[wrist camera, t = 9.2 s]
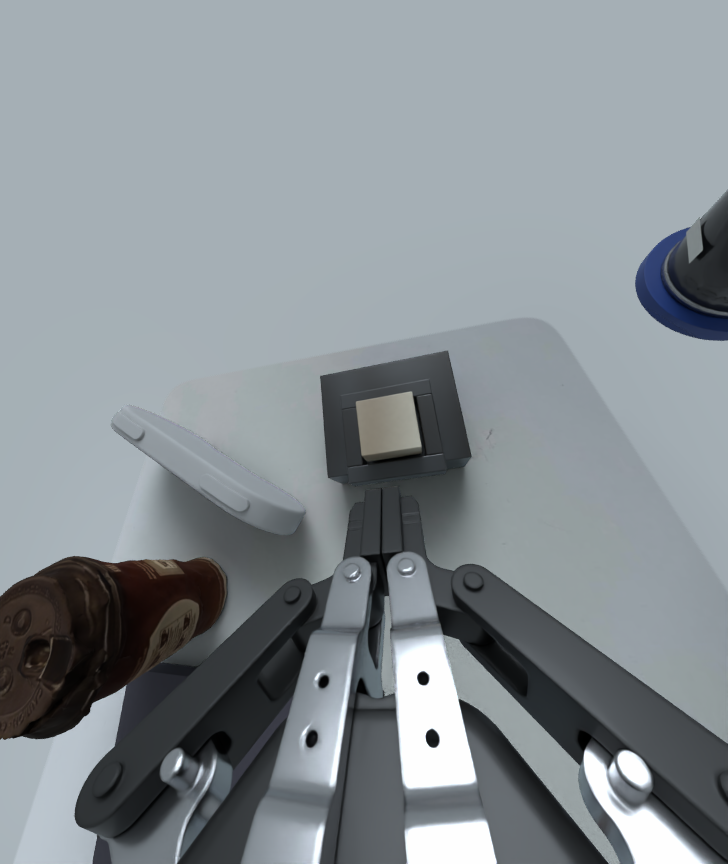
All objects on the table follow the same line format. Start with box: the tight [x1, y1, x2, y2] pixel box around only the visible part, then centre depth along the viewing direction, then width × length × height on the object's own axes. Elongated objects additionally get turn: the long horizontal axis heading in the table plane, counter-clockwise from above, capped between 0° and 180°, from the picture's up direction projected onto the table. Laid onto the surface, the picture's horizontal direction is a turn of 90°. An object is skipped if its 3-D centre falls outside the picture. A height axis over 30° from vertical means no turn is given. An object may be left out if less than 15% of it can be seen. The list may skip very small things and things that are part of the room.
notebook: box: [93, 663, 384, 864], centre depth 22 cm, size 13×2×21 cm
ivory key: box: [356, 392, 422, 462], centre depth 21 cm, size 4×4×2 cm
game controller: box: [111, 405, 306, 535], centre depth 26 cm, size 20×2×8 cm, turn 60°
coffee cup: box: [0, 556, 227, 740], centre depth 21 cm, size 9×8×13 cm
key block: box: [320, 351, 471, 486], centre depth 25 cm, size 11×10×6 cm
